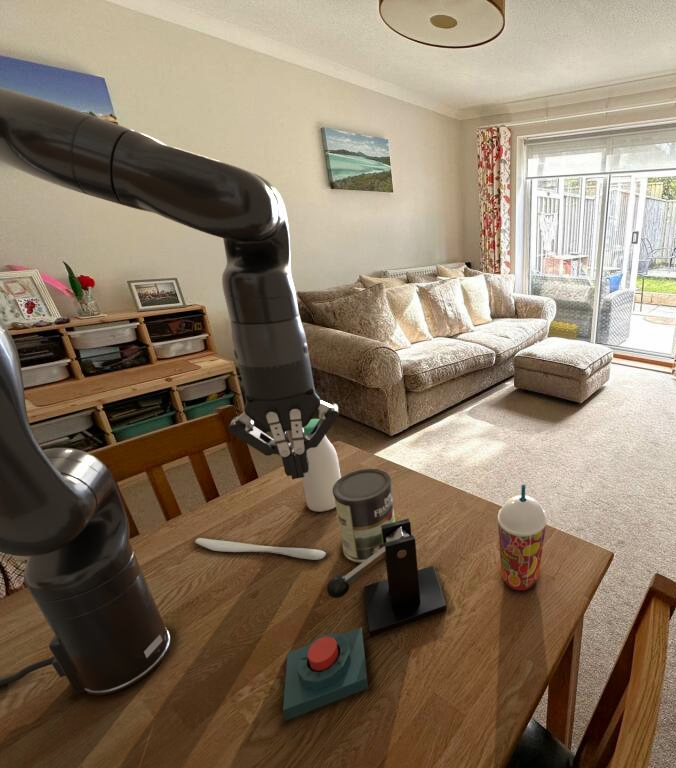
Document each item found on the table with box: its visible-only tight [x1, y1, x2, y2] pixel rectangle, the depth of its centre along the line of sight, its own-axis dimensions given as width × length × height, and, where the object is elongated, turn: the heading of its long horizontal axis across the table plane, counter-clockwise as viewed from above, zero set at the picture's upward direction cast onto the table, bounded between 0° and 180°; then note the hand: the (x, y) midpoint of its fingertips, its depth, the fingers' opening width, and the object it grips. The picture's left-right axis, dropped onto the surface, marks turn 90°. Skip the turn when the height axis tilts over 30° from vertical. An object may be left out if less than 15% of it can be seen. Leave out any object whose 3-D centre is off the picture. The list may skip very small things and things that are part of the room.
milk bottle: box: [301, 418, 342, 512], centre depth 88 cm, size 8×8×20 cm
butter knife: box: [194, 537, 327, 561], centre depth 77 cm, size 1×27×3 cm
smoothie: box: [497, 484, 548, 591], centre depth 69 cm, size 8×8×20 cm
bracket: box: [364, 518, 447, 638], centre depth 65 cm, size 12×9×15 cm
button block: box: [282, 627, 369, 721], centre depth 56 cm, size 10×8×4 cm
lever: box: [326, 527, 409, 599], centre depth 62 cm, size 14×3×3 cm, turn 113°
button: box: [308, 637, 338, 671], centre depth 55 cm, size 4×4×2 cm
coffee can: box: [333, 468, 396, 564], centre depth 77 cm, size 10×10×14 cm
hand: (298, 475), depth 55 cm, fingers closed
